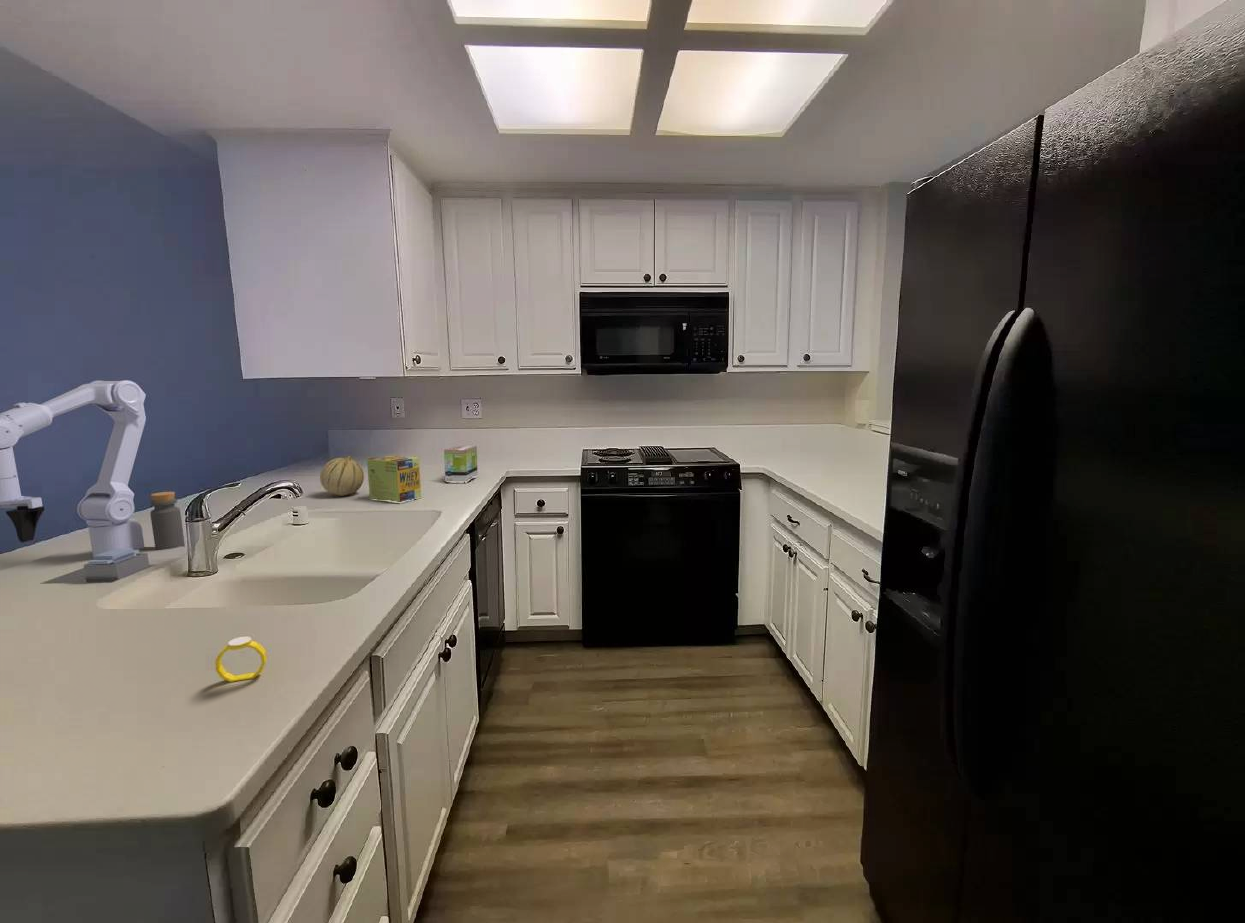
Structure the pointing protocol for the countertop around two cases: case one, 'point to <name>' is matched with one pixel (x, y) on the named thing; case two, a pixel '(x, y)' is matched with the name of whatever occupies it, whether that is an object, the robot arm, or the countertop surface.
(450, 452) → the tea box
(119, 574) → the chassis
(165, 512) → the bottle
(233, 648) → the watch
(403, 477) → the protein box
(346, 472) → the cantaloupe
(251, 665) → the countertop surface
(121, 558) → the block
